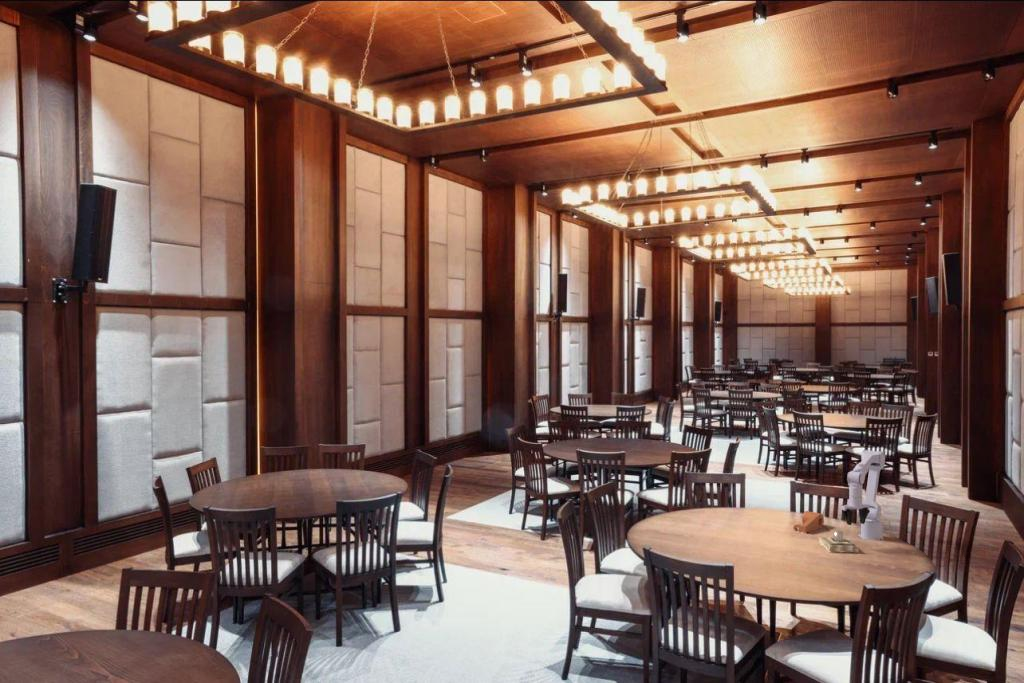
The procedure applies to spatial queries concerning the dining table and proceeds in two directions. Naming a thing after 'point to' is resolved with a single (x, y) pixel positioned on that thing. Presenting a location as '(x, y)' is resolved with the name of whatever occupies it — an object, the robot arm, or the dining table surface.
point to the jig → (838, 545)
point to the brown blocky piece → (810, 522)
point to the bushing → (838, 536)
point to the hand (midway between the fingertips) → (855, 524)
